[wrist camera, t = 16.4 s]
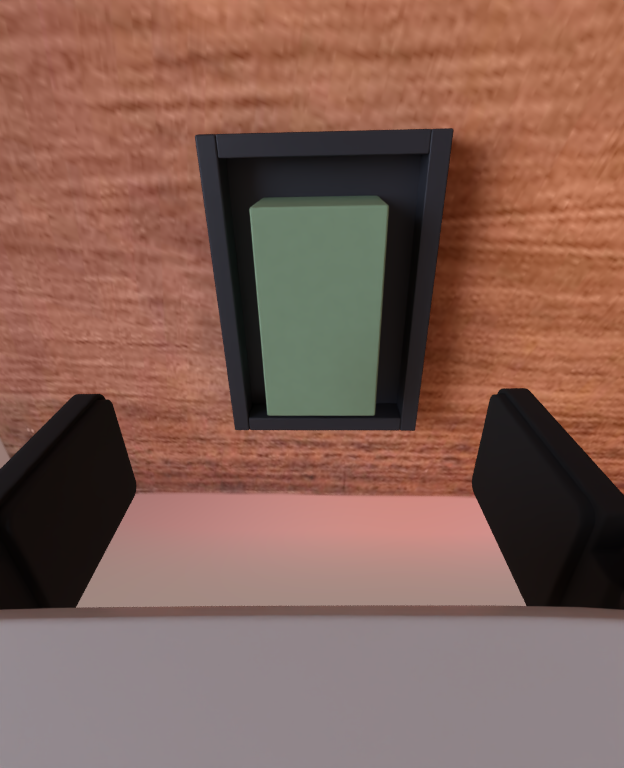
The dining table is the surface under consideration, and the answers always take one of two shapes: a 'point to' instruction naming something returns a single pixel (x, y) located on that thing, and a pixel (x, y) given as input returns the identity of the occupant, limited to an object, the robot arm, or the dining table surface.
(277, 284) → the green rectangular block
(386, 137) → the black tray
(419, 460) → the dining table surface
